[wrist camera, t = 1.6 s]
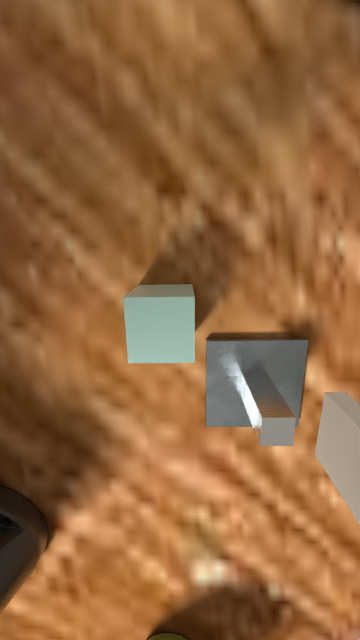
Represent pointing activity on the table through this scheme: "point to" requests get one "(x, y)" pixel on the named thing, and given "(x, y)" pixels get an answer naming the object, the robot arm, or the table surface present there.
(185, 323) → the mint green block
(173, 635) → the flower pot
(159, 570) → the table surface
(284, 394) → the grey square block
